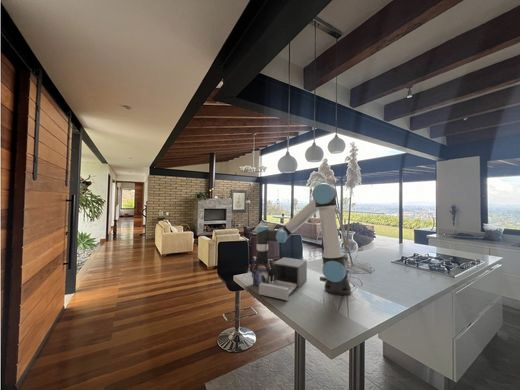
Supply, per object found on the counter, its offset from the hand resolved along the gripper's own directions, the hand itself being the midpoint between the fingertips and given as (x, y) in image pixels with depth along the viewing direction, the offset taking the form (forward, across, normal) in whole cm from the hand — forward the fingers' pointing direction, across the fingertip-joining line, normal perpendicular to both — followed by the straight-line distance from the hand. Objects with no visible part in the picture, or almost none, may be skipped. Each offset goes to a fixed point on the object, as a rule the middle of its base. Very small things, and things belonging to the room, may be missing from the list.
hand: (262, 284), depth 141 cm
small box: (+1, 0, 0) cm, 1 cm away
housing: (+1, -14, -14) cm, 20 cm away
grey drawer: (-1, -14, +5) cm, 15 cm away
